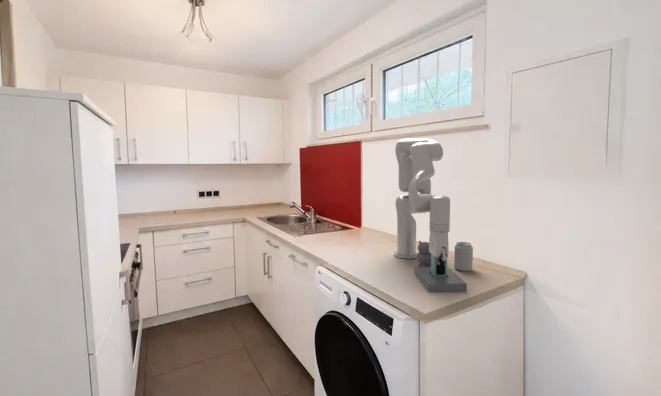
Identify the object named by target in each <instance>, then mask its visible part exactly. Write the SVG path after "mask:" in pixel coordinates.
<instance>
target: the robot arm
mask: <svg viewBox="0 0 661 396" xmlns="http://www.w3.org/2000/svg"><path fill="white" fill-rule="evenodd" d="M394 148H395V149H394V150H395V157H396V161H397V164H398V190H400V192H402V193H407V194H403V195H399V196H398V197H396V199H395V210H396V219H397V220H396V221H397V223H396V224H397V227H396V232H397V233H396V236H397V239H396V241H397V242H396V243H397V245H396V251H394V252H393V254H394V257H396V258H398V259H406V260H407V259H410V260H412V259H416V255H417V254H418V253H419V252H417V221H416V219H415V218H414V217H413V214H426V213H429V232H430V233H429V241H428V243H429V252H430V253H431V254H432V255H433V256H434V257H436V258H437V266H436V274H437V275H444V274H445V262H446V261H447V262H448V257H449V232H450V228H451V227H450V226H451V199H450V197H449V196H446V195H443V194H441V193H431V192H432V181H431V178H432V177H433V176H434V175H435V173H436V171H435V166H434V164H433V162H439V161H440V160H442V159H443V155H444V149H443V146H442V145H441V144H440V143H439V142H438V141H435V140H433V139H431V138H403V139H399V140H398V141H397V142H396V144H395V147H394ZM440 255H442V257H439V256H440Z"/></svg>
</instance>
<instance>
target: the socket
mask: <svg viewBox="0 0 661 396" xmlns="http://www.w3.org/2000/svg"><path fill="white" fill-rule="evenodd" d="M414 276H416V278H417V279H418V280H419V281H420V283H421V284H422V285H423V287H424V288H425V290H427V292H428V293H435V292H438V293H439V292H440V293H444V292H446V293H447V292H448V293H450V292H452V293H455V292H456V293H457V292H458V293H459V292H467V290H468V289H467V286H468V283H467V282H466V281H465V280H463V278H462V277H460V275H457V273H455V272H454V271H453V270H452V269H451V268H449V266H447V277H432V276H431V267H419V266H414Z"/></svg>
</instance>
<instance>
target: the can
mask: <svg viewBox="0 0 661 396" xmlns="http://www.w3.org/2000/svg"><path fill="white" fill-rule="evenodd" d="M473 254H474V247H473V246H472V243H470V242H467V241H458V242H456V244H455V245H454V262H453V267H454V269H456V270H457V271H459V272H471V271H472V269H473V264H474V263H473V262H474V261H473V259H474V258H473V257H474V255H473Z"/></svg>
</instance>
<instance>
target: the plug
mask: <svg viewBox="0 0 661 396" xmlns="http://www.w3.org/2000/svg"><path fill="white" fill-rule="evenodd" d="M439 257H442V255H440V256H439ZM436 266H437V258H436V257H434V256H433V255H432V254H431V276H432V277H447V267H448V260H447V261H446V262H445V274H444V275H437V274H436Z"/></svg>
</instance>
